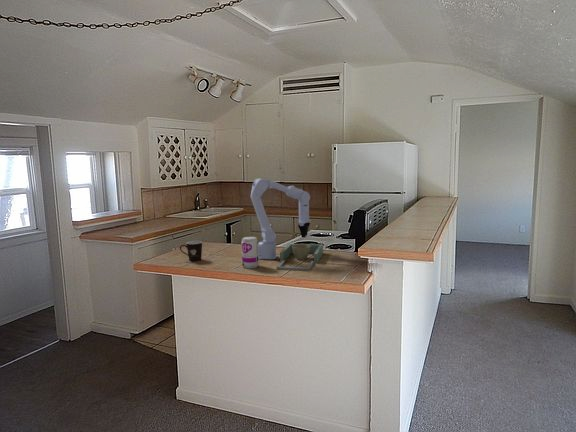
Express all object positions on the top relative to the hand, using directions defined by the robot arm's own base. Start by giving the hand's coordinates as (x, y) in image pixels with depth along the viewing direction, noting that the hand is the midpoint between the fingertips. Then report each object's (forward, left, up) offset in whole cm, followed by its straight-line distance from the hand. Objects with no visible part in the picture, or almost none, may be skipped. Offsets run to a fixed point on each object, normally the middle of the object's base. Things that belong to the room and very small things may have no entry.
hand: (304, 236), depth 241 cm
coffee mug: (-59, -20, -11) cm, 63 cm away
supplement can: (-23, -29, -11) cm, 39 cm away
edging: (0, -25, -10) cm, 27 cm away
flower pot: (0, -10, -11) cm, 15 cm away
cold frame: (0, -8, -10) cm, 13 cm away
